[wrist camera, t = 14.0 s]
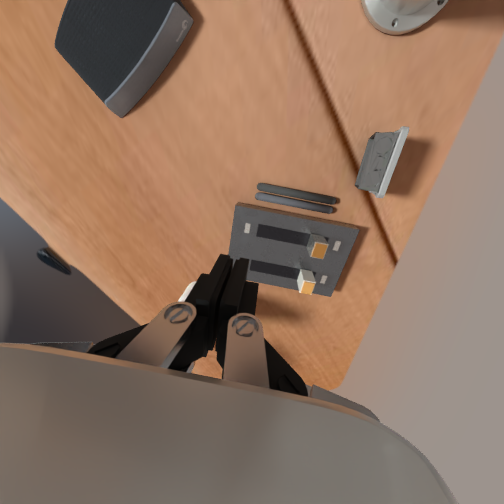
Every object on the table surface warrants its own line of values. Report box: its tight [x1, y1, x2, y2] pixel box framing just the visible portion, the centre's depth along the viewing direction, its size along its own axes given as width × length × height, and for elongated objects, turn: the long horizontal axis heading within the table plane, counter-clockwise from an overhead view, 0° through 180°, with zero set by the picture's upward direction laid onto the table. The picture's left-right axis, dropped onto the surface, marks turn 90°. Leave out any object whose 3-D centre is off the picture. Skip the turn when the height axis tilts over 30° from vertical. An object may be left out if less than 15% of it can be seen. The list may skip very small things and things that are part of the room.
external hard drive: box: [55, 0, 193, 118], centre depth 30 cm, size 13×19×4 cm
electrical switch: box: [355, 126, 409, 198], centre depth 32 cm, size 9×5×9 cm, turn 174°
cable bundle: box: [255, 183, 336, 214], centre depth 39 cm, size 3×15×1 cm, turn 80°
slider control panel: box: [228, 202, 359, 297], centre depth 41 cm, size 16×24×8 cm, turn 80°
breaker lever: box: [297, 269, 316, 295], centre depth 41 cm, size 3×2×5 cm
